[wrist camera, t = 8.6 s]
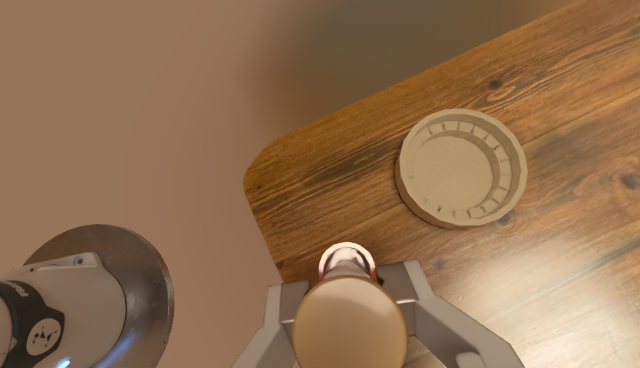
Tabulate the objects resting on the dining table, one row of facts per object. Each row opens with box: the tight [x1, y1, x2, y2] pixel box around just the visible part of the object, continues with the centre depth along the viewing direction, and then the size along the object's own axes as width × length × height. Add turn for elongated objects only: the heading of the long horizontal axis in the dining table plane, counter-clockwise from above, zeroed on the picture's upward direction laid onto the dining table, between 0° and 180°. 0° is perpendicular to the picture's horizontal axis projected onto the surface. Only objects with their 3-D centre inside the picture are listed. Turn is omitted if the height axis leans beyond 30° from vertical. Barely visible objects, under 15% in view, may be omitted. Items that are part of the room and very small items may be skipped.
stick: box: [292, 260, 407, 368], centre depth 19 cm, size 2×2×26 cm
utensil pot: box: [318, 241, 376, 280], centre depth 37 cm, size 7×7×7 cm
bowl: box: [394, 109, 528, 229], centre depth 40 cm, size 16×16×5 cm
